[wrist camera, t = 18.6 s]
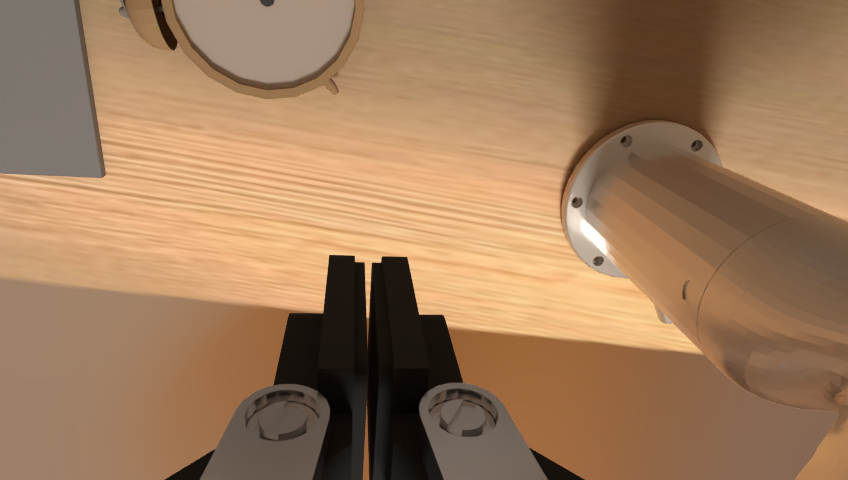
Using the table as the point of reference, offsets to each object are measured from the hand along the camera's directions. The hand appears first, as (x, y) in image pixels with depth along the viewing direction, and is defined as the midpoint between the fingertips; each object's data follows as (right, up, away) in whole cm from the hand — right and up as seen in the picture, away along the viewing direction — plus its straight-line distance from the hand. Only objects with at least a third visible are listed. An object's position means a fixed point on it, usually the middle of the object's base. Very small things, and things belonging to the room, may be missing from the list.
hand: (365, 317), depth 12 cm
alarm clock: (-10, +17, +21) cm, 29 cm away
